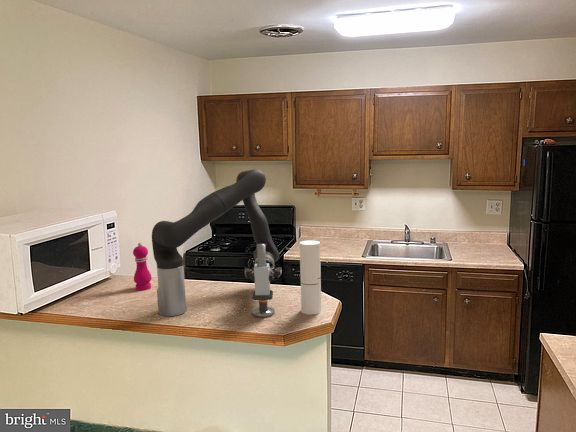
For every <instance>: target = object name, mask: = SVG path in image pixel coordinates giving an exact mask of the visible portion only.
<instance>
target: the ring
mask: <svg viewBox="0 0 576 432" xmlns="http://www.w3.org/2000/svg"><path fill="white" fill-rule="evenodd" d="M273 295H274V291H273V290H272V289H270V295H255V290H254V291H253V293H252V297H251V298H252V300H253V301H259V300H268V301H270V300H273V298H274V297H273Z"/></svg>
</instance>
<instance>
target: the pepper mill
mask: <svg viewBox="0 0 576 432" xmlns="http://www.w3.org/2000/svg"><path fill="white" fill-rule="evenodd" d="M132 254H133V257H134V262H135V263H136V269H135V271H134V276H133V282H134V283H135V290H136V291H147V289H148V290H151V288H152V283H151V281H152V274H151V272H150V270H149V269H148V263H147V261H148V254H149V250H148V248H147V247H146V246H143V243H142V242H138V243H137V246H136V247H134V248H133V251H132Z"/></svg>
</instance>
